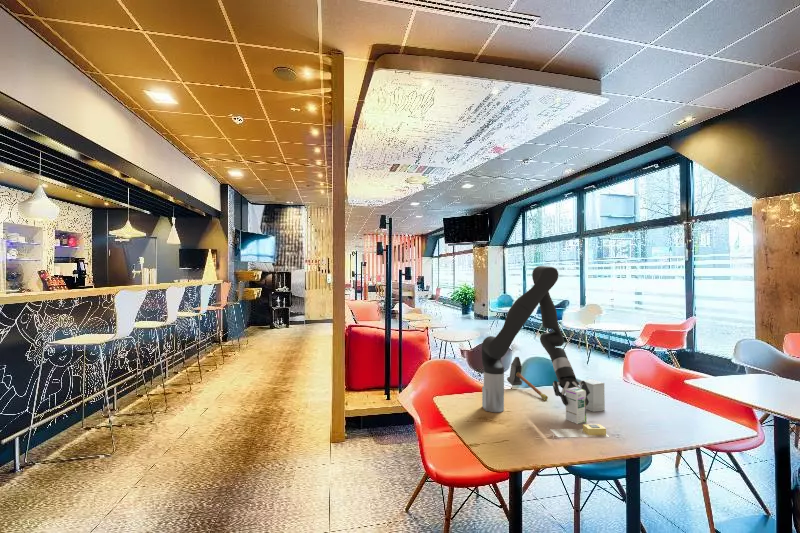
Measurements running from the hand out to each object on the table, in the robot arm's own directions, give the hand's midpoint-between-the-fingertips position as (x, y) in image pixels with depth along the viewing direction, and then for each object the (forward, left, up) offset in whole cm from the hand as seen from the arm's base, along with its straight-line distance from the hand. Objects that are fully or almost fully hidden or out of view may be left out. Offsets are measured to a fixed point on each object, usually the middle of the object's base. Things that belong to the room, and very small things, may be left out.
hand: (576, 404), depth 153 cm
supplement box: (+17, +18, -8) cm, 26 cm away
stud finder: (+1, -11, -7) cm, 13 cm away
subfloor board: (-5, -11, -8) cm, 15 cm away
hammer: (-4, +44, -9) cm, 45 cm away
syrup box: (0, +1, -8) cm, 8 cm away
